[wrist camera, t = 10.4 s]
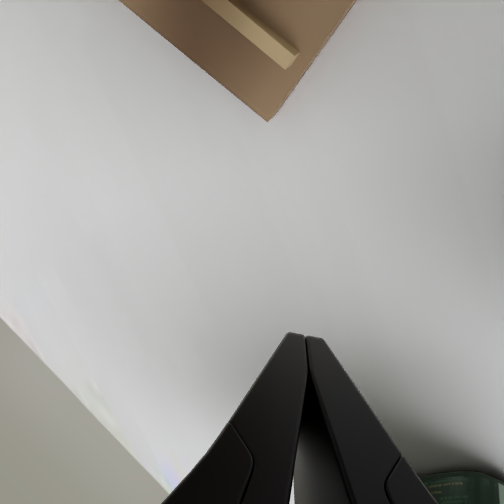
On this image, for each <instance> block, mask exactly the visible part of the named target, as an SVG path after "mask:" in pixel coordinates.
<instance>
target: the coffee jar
mask: <svg viewBox="0 0 504 504" xmlns="http://www.w3.org/2000/svg"><path fill="white" fill-rule="evenodd" d="M419 478H420V480H421V481H422V483H423V484H424V485H425V487H426V488H427V490H428V491H429V492H430V494H431V495H432V496H433V498H434V499H435V500H436V502H437V503H438V504H504V482H502V481H500V480H498V479H495V478H493V477H490V476H488V475H486V474H484V473H480V472H473V471H459V472H448V473H440V474H433V475H427V476H422V477H419Z"/></svg>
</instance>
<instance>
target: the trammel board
mask: <svg viewBox="0 0 504 504" xmlns="http://www.w3.org/2000/svg"><path fill="white" fill-rule="evenodd" d="M119 1H120V2H122V3H123V4H124V5H125V6H126V7H128V8H129V9H130V10H131V11H132V12H134V13H135V14H136V15H137V16H139V17H140V18H141V19H142V20H143V21H145V22H146V23H147V24H148V25H150V26H151V27H152V28H153V29H154V30H156V31H157V32H158V33H159V34H161V35H162V36H163V37H164V38H165V39H167V40H168V41H169V42H170V43H172V44H173V45H174V46H175V47H176V48H178V49H179V50H180V51H181V52H182V53H184V54H185V55H186V56H187V57H189V58H190V59H191V60H192V61H193V62H195V63H196V64H197V65H198V66H200V67H201V68H202V69H203V70H204V71H206V72H207V73H208V74H209V75H211V76H212V77H213V78H214V79H215V80H217V81H218V82H219V83H220V84H222V85H223V86H224V87H225V88H226V89H228V90H229V91H230V92H231V93H233V94H234V95H235V96H236V97H237V98H239V99H240V100H241V101H242V102H243V103H245V104H246V105H247V106H248V107H250V108H251V109H252V110H253V111H254V112H256V113H257V114H258V115H259V116H261V117H262V118H263V119H264V120H265V121H267V122H268V121H269V120H270V119H271V118H273V117H274V116H275V115H276V113H277V112H278V110H279V109H280V107H281V106H282V105H283V103H284V102H285V100H286V99H287V98H288V96H289V95H290V93H291V92H292V91H293V89H294V88H295V86H296V85H297V83H298V82H299V81H300V79H301V78H302V76H303V75H304V74H305V72H306V71H307V69H308V68H309V67H310V65H311V64H312V62H313V61H314V60H315V58H316V57H317V55H318V54H319V52H320V51H321V50H322V48H323V47H324V45H325V44H326V43H327V41H328V40H329V38H330V37H331V36H332V34H333V33H334V31H335V30H336V28H337V27H338V26H339V24H340V23H341V21H342V20H343V19H344V17H345V16H346V14H347V13H348V12H349V10H350V9H351V7H352V6H353V4H354V3H355V2H356V0H119Z"/></svg>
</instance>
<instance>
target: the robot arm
mask: <svg viewBox="0 0 504 504" xmlns="http://www.w3.org/2000/svg"><path fill="white" fill-rule="evenodd" d="M401 456H402V454H401V452H400V451H399V449H398V448H397V446H396V445H395V443H394V442H393V440H392V439H391V437H390V436H389V434H388V433H387V431H386V430H385V429H384V427H383V426H382V424H381V423H380V421H379V420H378V418H377V417H376V415H375V414H374V412H373V411H372V410H371V408H370V407H369V405H368V404H367V402H366V401H365V399H364V398H363V396H362V395H361V393H360V392H359V390H358V389H357V388H356V386H355V385H354V383H353V382H352V380H351V379H350V377H349V376H348V374H347V373H346V371H345V370H344V368H343V367H342V366H341V364H340V363H339V361H338V360H337V358H336V357H335V355H334V354H333V352H332V351H331V349H330V348H329V347H328V345H327V344H326V342H325V341H324V340H323V339H322V338H317V337H312V336H306V337H305V336H304V335H302V334H296V333H291V332H289V333H287V334H286V335H285V337H284V338H283V340H282V341H281V343H280V344H279V346H278V347H277V349H276V350H275V352H274V354H273V355H272V357H271V358H270V360H269V361H268V363H267V364H266V366H265V367H264V369H263V370H262V372H261V373H260V375H259V376H258V378H257V379H256V381H255V382H254V384H253V385H252V387H251V388H250V390H249V391H248V393H247V394H246V396H245V397H244V399H243V400H242V402H241V403H240V405H239V407H238V408H237V410H236V411H235V413H234V414H233V416H232V417H231V419H230V420H229V422H228V423H227V424H226V425H225V427H224V428H223V430H222V432H221V433H220V435H219V436H218V437H217V439H216V440H215V441H214V443H213V444H212V446H211V447H210V448H209V450H208V451H207V453H206V454H205V455H204V456H203V457H202V459H201V460H200V461H199V462H198V463H197V464H196V466H195V467H194V468H193V469H192V470H191V472H190V473H189V474H188V475H187V476H186V477H185V478H184V479H183V480H182V481H181V483H180V484H179V485H178V486H177V487H176V488H175V489H174V490H173V491H172V492H171V494H170V495H169V496H168V497H167V498H166V499H165V500H164V501H163V502H162V503H161V504H289V502H290V495H291V488H292V481H293V476H294V498H295V504H438V503H437V502H436V500H435V499H434V498H433V496H432V495H431V494H430V492H429V491H428V490H427V488H426V487H425V485H424V484H423V483H422V481H421V480H420V478H419V477H418V476H417V474H416V473H415V472H414V470H413V469H412V467H411V466H410V464H409V463H408V461H407V460H406V458H405V457H403V456H402V457H401Z"/></svg>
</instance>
